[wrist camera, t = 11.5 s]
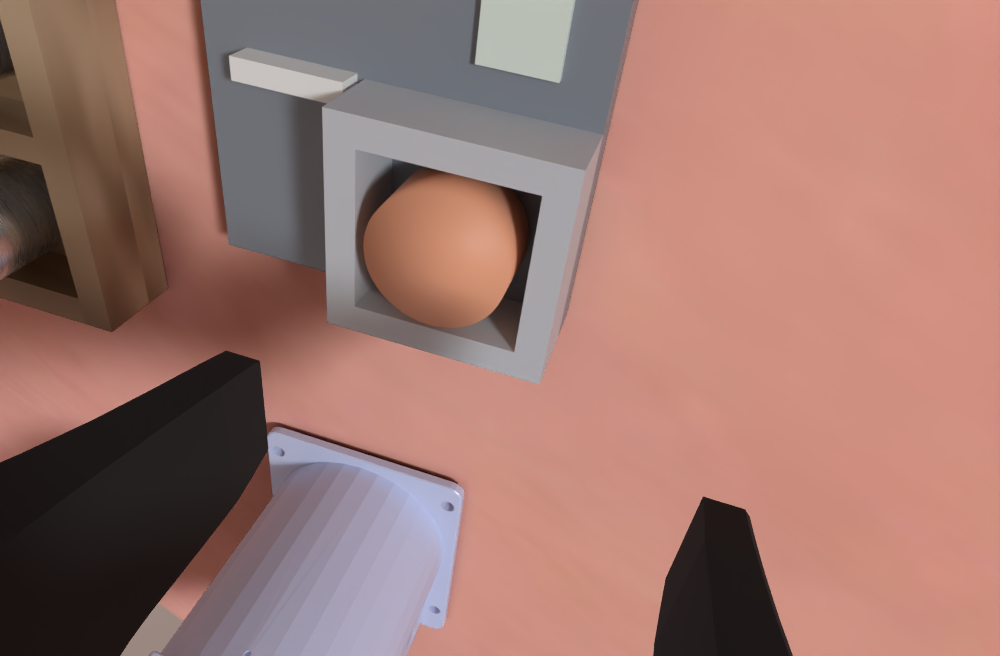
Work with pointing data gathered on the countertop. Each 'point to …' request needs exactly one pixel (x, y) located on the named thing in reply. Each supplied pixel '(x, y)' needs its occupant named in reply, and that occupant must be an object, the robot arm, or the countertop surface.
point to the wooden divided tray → (80, 161)
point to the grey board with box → (416, 141)
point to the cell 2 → (24, 215)
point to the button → (446, 247)
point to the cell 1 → (5, 57)
